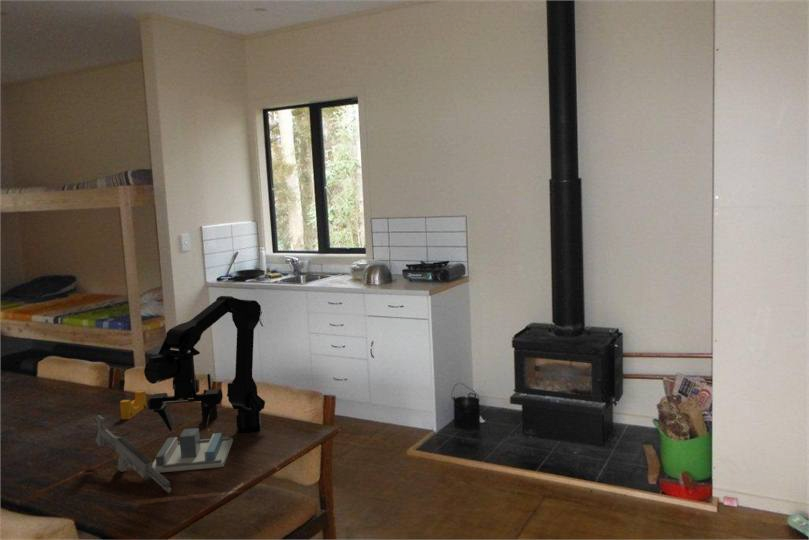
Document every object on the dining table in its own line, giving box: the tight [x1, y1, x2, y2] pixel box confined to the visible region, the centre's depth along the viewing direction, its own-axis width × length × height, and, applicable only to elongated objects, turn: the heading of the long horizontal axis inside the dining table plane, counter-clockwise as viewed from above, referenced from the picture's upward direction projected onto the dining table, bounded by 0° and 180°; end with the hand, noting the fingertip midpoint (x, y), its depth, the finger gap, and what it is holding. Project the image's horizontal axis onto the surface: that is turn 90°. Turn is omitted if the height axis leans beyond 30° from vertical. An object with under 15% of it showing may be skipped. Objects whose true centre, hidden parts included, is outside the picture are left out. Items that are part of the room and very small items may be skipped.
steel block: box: [179, 427, 201, 458], centre depth 180 cm, size 4×6×6 cm, turn 7°
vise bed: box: [152, 436, 234, 474], centre depth 180 cm, size 19×18×4 cm
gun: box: [95, 414, 172, 494], centre depth 169 cm, size 36×4×10 cm, turn 50°
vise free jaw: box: [204, 432, 224, 461], centre depth 181 cm, size 2×14×2 cm, turn 7°
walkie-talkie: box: [200, 373, 218, 423], centre depth 209 cm, size 5×3×15 cm
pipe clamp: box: [119, 390, 148, 420], centre depth 220 cm, size 12×4×6 cm, turn 175°
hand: (188, 429), depth 179 cm, fingers open, 9 cm apart
